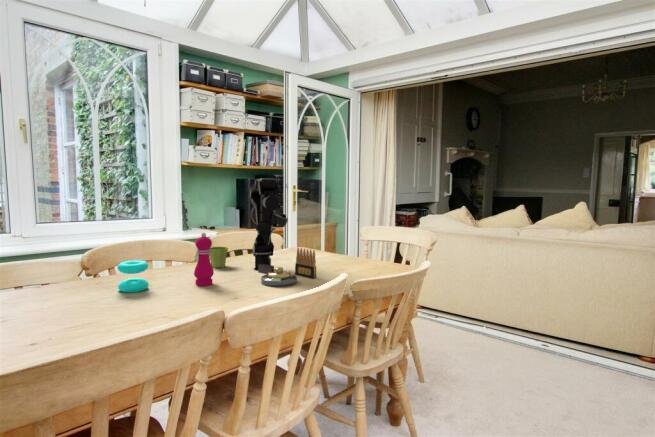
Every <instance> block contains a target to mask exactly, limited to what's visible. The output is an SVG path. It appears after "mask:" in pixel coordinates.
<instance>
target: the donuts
mask: <svg viewBox="0 0 655 437" xmlns="http://www.w3.org/2000/svg"><path fill="white" fill-rule="evenodd" d="M148 268H149V264H148V262H147V261H145V260H134V259H133V260H125V261H123V262H120V263H119V264H118V265H117V270H118V272H120V273H122V274H126V275H135V274H140V273H143V272H145V271H147V270H148ZM148 287H149V281H147V279H145V278H142V277H141V278H140V277H139V278H138V277H132V278H127V279H124V280H122V281H120V282H119V283H118V285H117V289H118V290H119V291H120V292H122V293H138V292H143V291H144V290H146V289H148Z"/></svg>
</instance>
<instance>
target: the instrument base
mask: <svg viewBox="0 0 655 437" xmlns="http://www.w3.org/2000/svg"><path fill="white" fill-rule="evenodd" d="M297 279H298V277H297V275H295V274H291V277H290V278H288V279H281V278H272V279H270V278H268V274H264V275H262V276H261V281H260V282H261V284H262V285H264V286H265V287H271V288H272V287H273V288H285V287H286V288H287V287H292V286H295V285H296V284H297V282H298V280H297Z"/></svg>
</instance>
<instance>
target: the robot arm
mask: <svg viewBox="0 0 655 437" xmlns="http://www.w3.org/2000/svg"><path fill="white" fill-rule="evenodd" d="M257 188H258V189H257ZM280 192H281V190H280V186H279V183H278V181H277V180H276V178H262V177H261V178H257V179H255V181H254V184H252V185H251V186H250V188H249V200H250V201H251V205H252V206H253V207H254V209H255V220H256V221H255V222H256V225H255V231H256V232H257V235H256V237H255V239H254V242H253V247H252V255H253V257H254V268H253V270H255V271H256V270H257V271H258V264H266V265H272V258H271V257H272V256H274V249H275V245H274V243H273V242H272V234H273V232H274V231H275V230H276V228H277V227H278V226H279V225H280V226H281V227H283V228H285V227H286V226H287V223H288V221H289V218H287V214H285V213H282V214H281V215H280V214H277V211H276V210H277V209H278V208H279V206H280V200H279V199H278V197H276V196H279V195H280ZM273 226H275V227H273Z"/></svg>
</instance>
